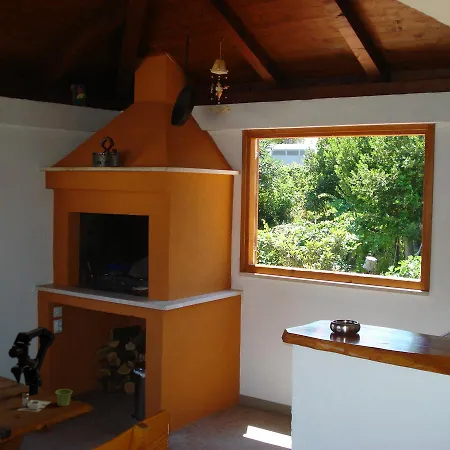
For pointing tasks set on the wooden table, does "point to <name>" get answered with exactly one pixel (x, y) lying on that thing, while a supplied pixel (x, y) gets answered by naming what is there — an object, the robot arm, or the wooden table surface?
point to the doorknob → (25, 400)
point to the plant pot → (63, 397)
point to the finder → (35, 405)
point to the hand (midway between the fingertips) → (22, 381)
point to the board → (43, 404)
